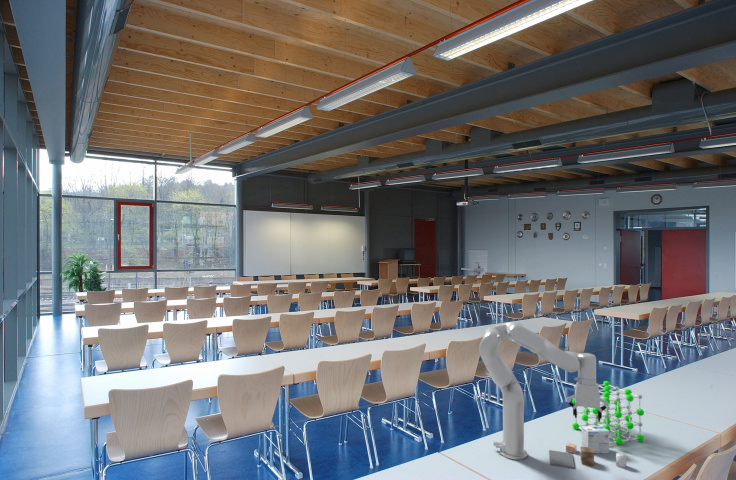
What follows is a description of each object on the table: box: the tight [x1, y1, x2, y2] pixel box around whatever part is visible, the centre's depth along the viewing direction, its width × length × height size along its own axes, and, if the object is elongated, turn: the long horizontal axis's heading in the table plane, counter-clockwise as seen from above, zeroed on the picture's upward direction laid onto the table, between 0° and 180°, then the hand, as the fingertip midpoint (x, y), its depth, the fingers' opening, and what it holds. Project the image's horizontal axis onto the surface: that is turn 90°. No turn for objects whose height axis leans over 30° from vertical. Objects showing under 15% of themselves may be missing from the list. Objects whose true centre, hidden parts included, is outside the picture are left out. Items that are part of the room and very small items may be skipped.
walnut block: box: [580, 446, 595, 467], centre depth 203 cm, size 5×5×6 cm
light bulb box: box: [580, 425, 610, 454], centre depth 215 cm, size 11×7×11 cm, turn 92°
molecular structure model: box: [571, 380, 645, 446], centre depth 233 cm, size 24×25×24 cm
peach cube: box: [565, 442, 578, 454], centre depth 214 cm, size 4×4×3 cm
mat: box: [548, 449, 575, 470], centre depth 205 cm, size 10×14×1 cm
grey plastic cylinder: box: [615, 452, 627, 469], centre depth 200 cm, size 4×4×5 cm
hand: (587, 418), depth 203 cm, fingers open, 9 cm apart
